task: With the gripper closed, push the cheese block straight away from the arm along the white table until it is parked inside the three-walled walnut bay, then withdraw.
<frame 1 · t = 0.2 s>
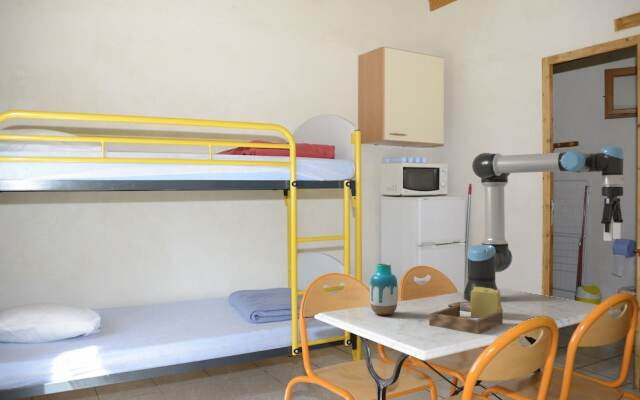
hand: (612, 239, 211), 28 cm above the table, fingers open, 13 cm apart
vase: (383, 314, 204), on the table
cheese: (485, 316, 202), on the table
bay: (467, 323, 188), on the table
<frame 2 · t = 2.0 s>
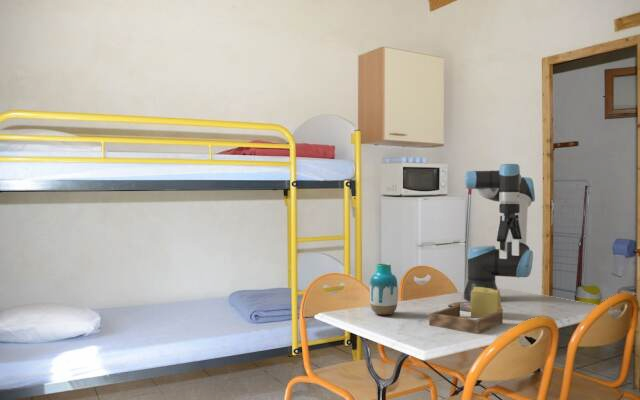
hand: (509, 257, 210), 21 cm above the table, fingers open, 13 cm apart
nothing on the table moved.
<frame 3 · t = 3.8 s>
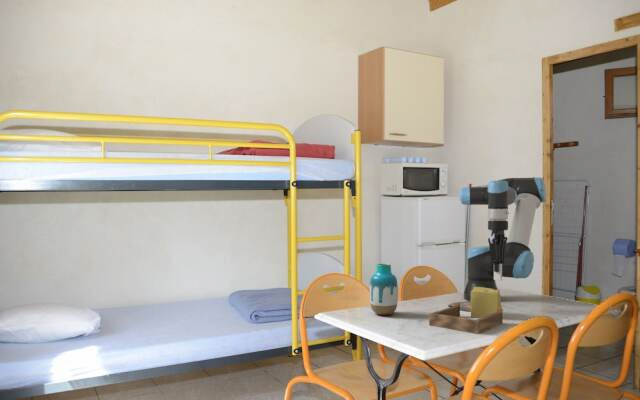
hand: (497, 279, 209), 12 cm above the table, fingers closed
nothing on the table moved.
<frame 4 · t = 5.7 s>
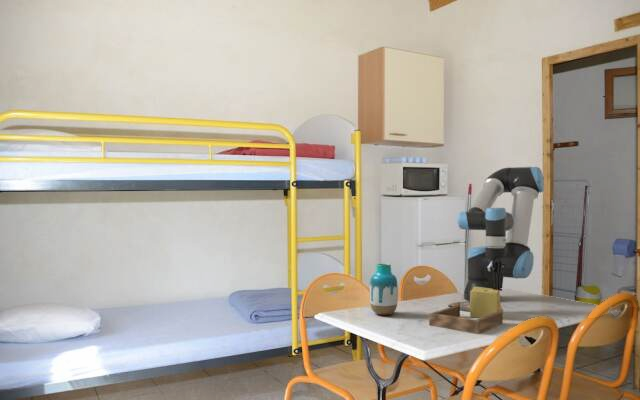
hand: (495, 307, 208), 2 cm above the table, fingers closed
cheese: (485, 316, 201), on the table, touching hand
everything else where it was.
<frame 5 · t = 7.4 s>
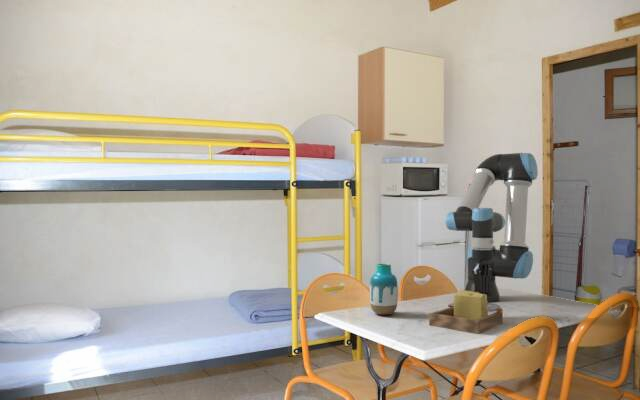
hand: (482, 311, 199), 2 cm above the table, fingers closed
cheese: (470, 321, 193), on the table, touching hand
everything else where it was.
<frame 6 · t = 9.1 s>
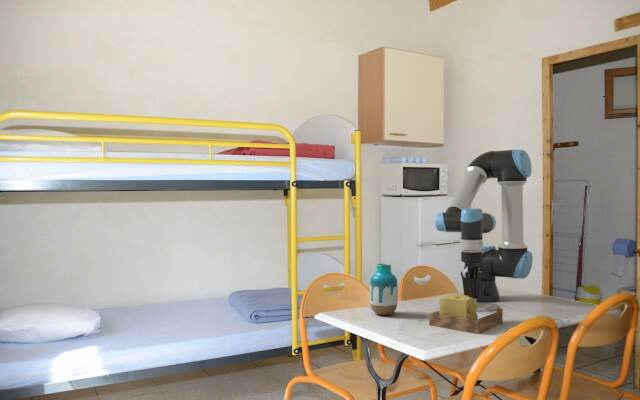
hand: (472, 316, 193), 2 cm above the table, fingers closed
cheese: (457, 325, 187), on the table, touching bay, gripper, hand
everything else where it was.
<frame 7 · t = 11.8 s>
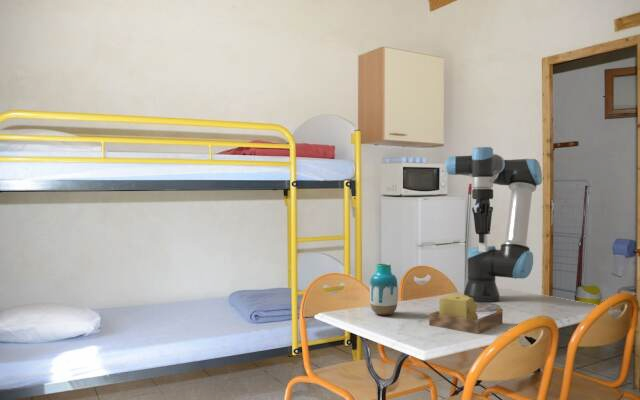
hand: (482, 251, 200), 24 cm above the table, fingers closed
cheese: (457, 325, 187), on the table
everything else where it was.
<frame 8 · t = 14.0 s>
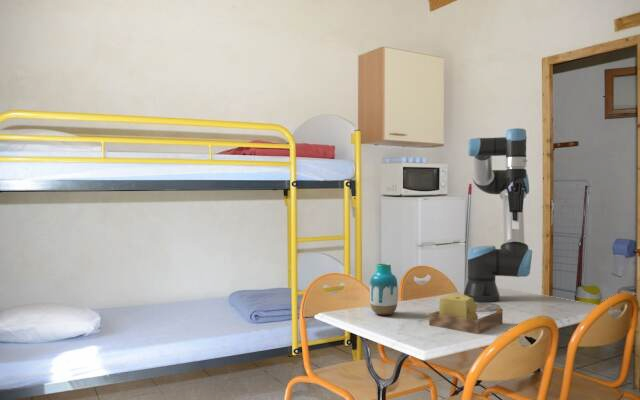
hand: (516, 228, 208), 32 cm above the table, fingers closed
nothing on the table moved.
at the end: cheese inside the target area on the bay (2.5 cm from its centre), point 0.0 cm above the bay's base; cheese moved 20.3 cm from its start; cheese touching table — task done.
